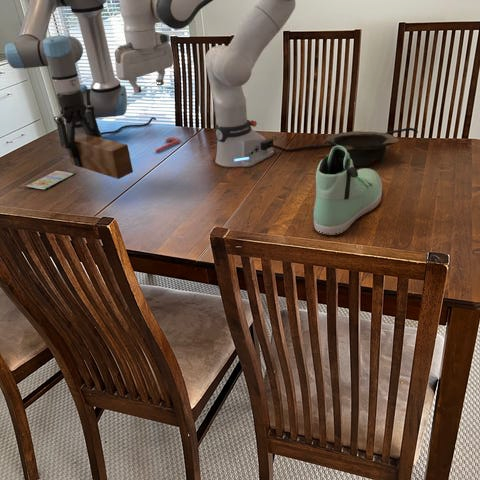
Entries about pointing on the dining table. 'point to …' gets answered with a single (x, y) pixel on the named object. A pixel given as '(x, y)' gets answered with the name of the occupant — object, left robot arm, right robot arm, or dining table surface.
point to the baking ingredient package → (50, 180)
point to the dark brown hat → (363, 145)
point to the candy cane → (174, 139)
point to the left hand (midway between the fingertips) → (87, 162)
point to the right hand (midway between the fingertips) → (149, 88)
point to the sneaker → (343, 192)
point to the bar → (103, 155)
